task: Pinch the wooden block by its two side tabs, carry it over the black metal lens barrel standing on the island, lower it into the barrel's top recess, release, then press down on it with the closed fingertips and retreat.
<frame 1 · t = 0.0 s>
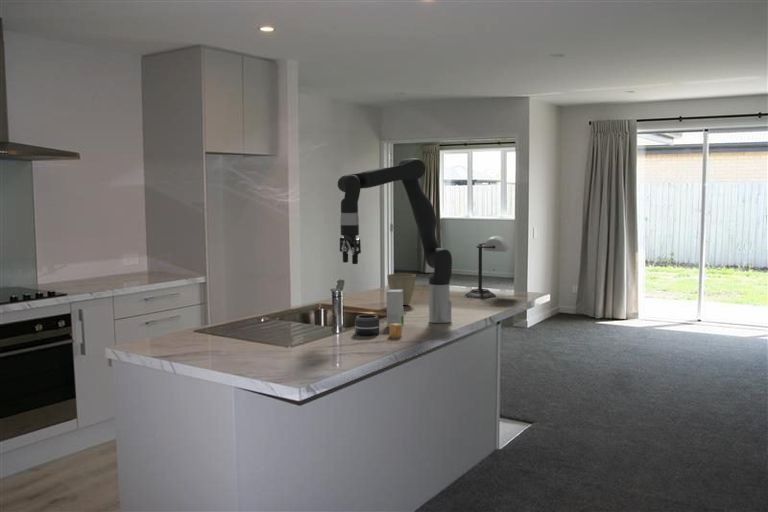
hand: (350, 263, 272), 29 cm above the countertop, fingers open, 8 cm apart
lamp: (485, 296, 372), on the countertop
wooden block: (395, 336, 267), on the countertop
barrel: (367, 333, 273), on the countertop
skincare box: (395, 325, 290), on the countertop
plant pot: (401, 305, 344), on the countertop
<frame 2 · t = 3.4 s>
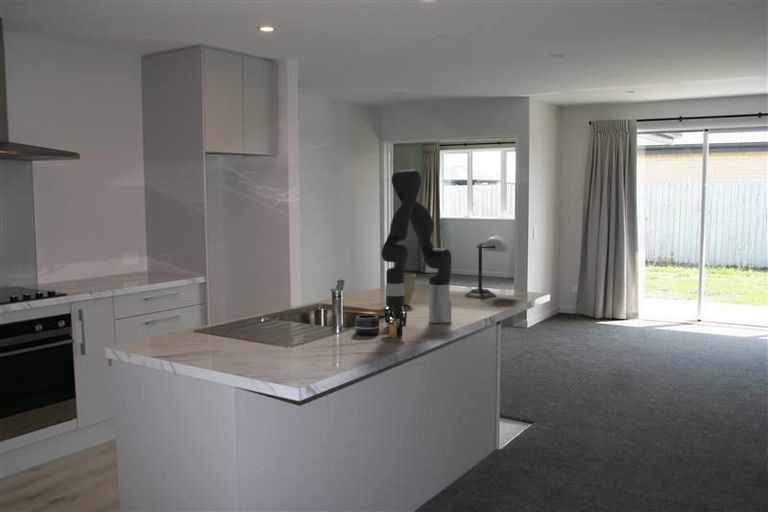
hand: (395, 335, 267), 1 cm above the countertop, fingers closed on wooden block, 5 cm apart
wooden block: (395, 336, 267), on the countertop, touching gripper
everything else where it was.
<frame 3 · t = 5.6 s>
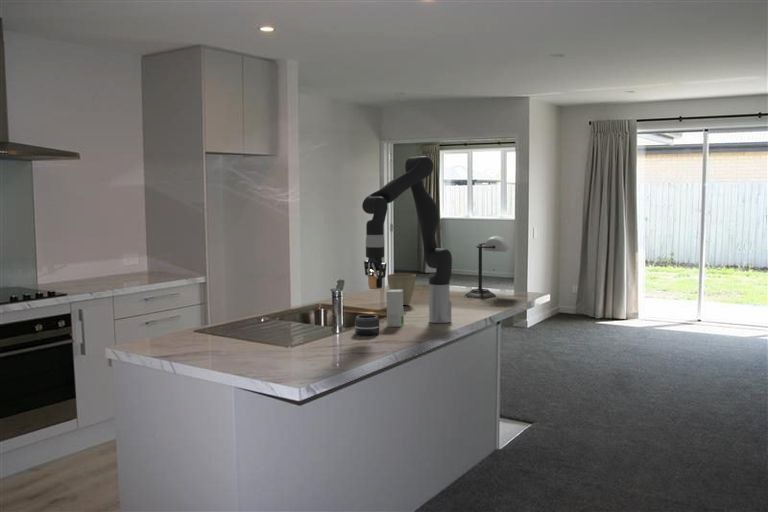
hand: (375, 286, 269), 20 cm above the countertop, fingers closed on wooden block, 5 cm apart
wooden block: (375, 288, 269), point 19 cm above the countertop, touching gripper
everything else where it was.
when the fingers open (8 cm above the countertop, at t = 7.8 s): wooden block drops 1 cm, resting on barrel.
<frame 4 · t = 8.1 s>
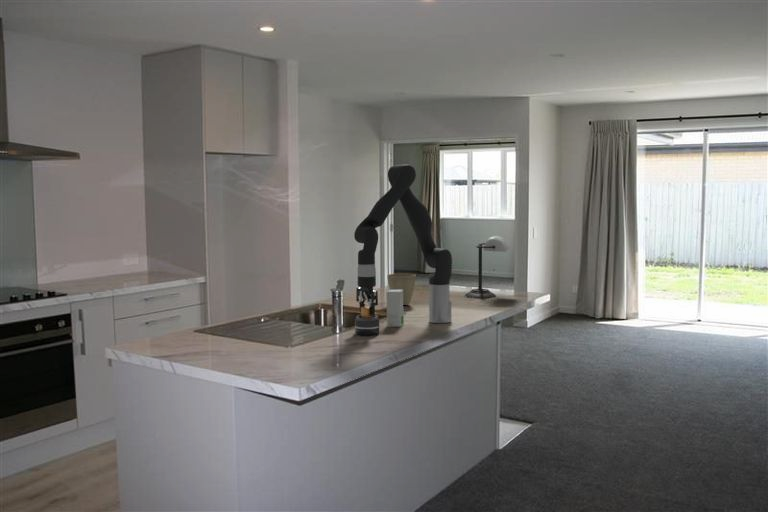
hand: (367, 314, 272), 8 cm above the countertop, fingers open, 8 cm apart
wooden block: (367, 319, 272), point 6 cm above the countertop, touching barrel
everything else where it was.
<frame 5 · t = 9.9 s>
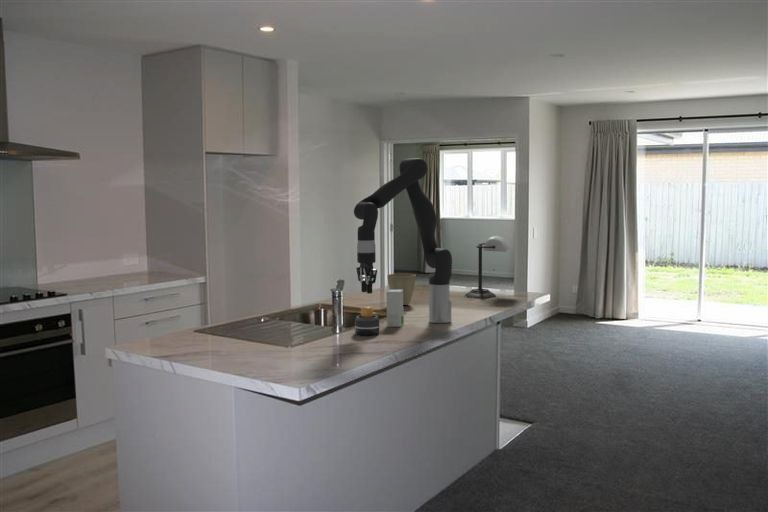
hand: (366, 292, 271), 17 cm above the countertop, fingers open, 4 cm apart
nothing on the countertop moved.
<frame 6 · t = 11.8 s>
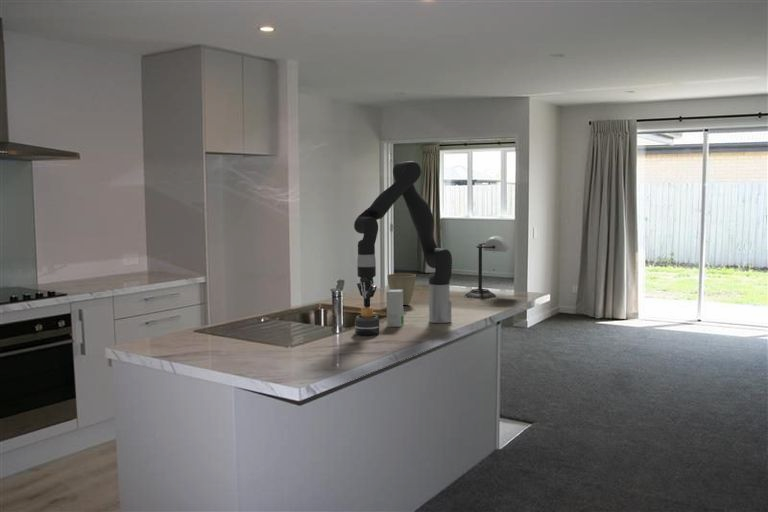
hand: (367, 306, 272), 11 cm above the countertop, fingers closed
nothing on the countertop moved.
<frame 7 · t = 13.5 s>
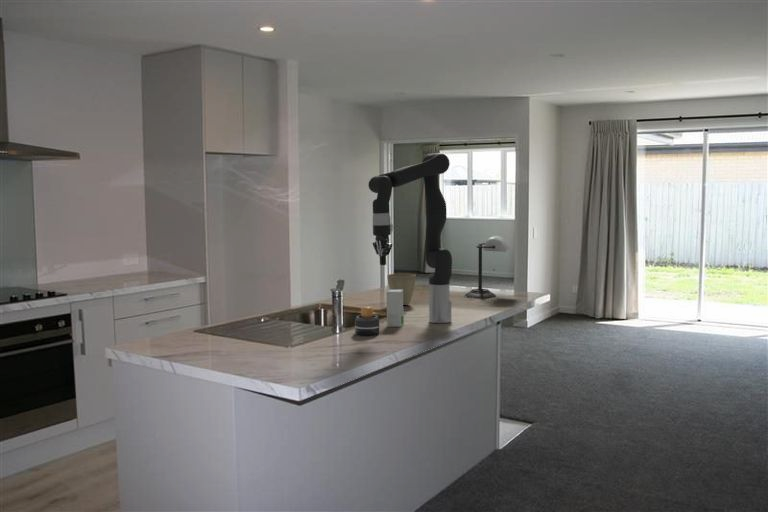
hand: (383, 264, 277), 28 cm above the countertop, fingers closed
nothing on the countertop moved.
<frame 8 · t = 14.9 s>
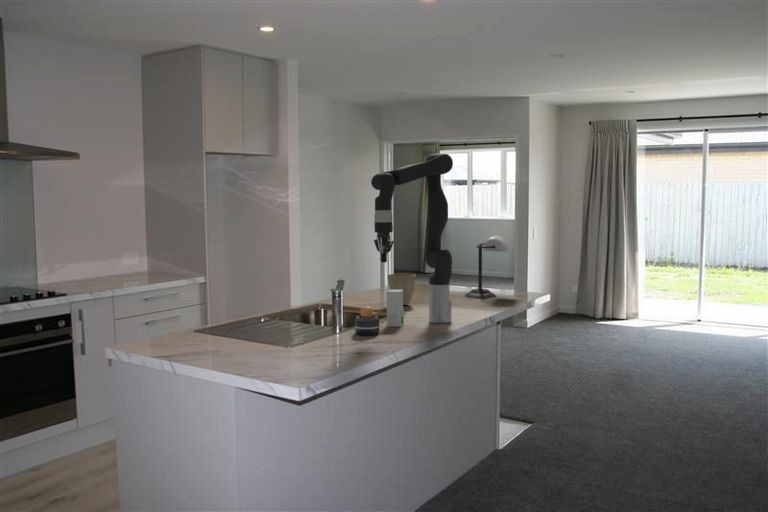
hand: (383, 262, 278), 29 cm above the countertop, fingers closed
nothing on the countertop moved.
at the end: wooden block 0.0 cm off-centre on the barrel, point 6.0 cm above the barrel's base; wooden block tilted 0°; the gripper is holding nothing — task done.
